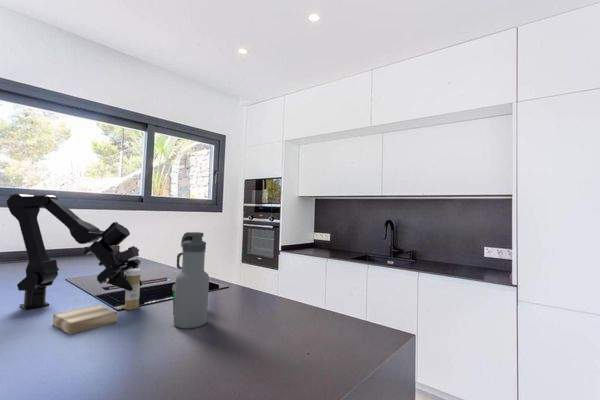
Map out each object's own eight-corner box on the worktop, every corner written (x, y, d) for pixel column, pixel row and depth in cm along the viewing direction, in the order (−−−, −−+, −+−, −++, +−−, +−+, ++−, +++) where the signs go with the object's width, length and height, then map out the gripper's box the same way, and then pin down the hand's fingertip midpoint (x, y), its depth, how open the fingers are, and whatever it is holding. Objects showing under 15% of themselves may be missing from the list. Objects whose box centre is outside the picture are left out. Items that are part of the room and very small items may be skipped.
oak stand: (52, 324, 91) (53, 314, 91) (97, 314, 101) (98, 304, 101) (70, 334, 84) (71, 323, 84) (116, 322, 94) (116, 312, 94)
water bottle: (167, 322, 95) (171, 231, 96) (196, 315, 102) (200, 231, 103) (182, 332, 88) (187, 233, 89) (213, 324, 95) (217, 233, 96)
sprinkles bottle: (139, 305, 111) (141, 268, 111) (138, 309, 107) (140, 270, 107) (124, 306, 109) (126, 268, 109) (123, 310, 105) (125, 270, 105)
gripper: (108, 241, 99) (141, 277, 99) (137, 237, 118) (164, 267, 118) (82, 265, 99) (114, 301, 99) (115, 257, 117) (142, 287, 117)
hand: (136, 287), depth 108 cm, fingers open, 6 cm apart
